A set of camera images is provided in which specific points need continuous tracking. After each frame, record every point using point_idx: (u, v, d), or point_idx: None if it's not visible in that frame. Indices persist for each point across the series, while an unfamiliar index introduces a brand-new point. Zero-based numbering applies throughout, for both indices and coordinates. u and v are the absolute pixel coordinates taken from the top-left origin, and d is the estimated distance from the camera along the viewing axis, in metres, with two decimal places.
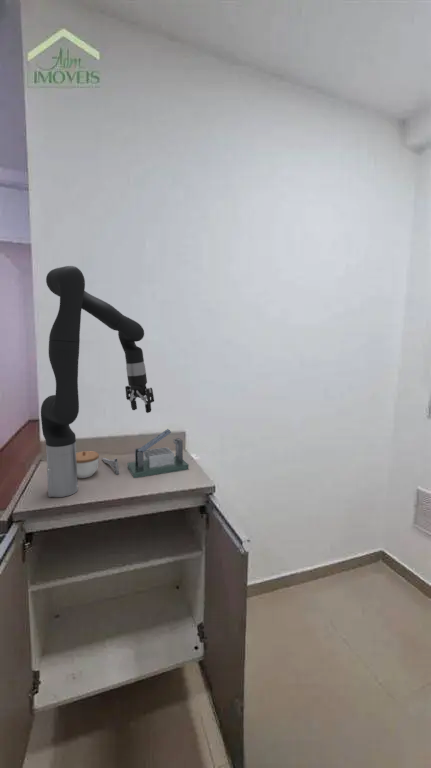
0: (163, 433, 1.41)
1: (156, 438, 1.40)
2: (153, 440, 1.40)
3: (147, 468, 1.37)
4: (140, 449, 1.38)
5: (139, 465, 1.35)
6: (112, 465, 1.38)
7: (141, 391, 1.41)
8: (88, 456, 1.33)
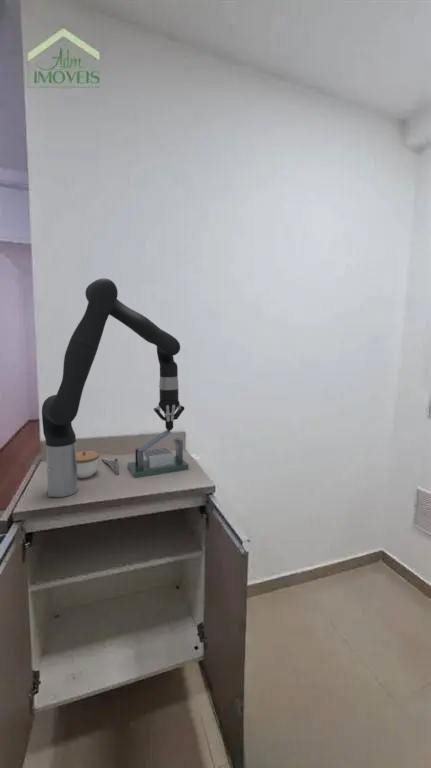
0: (163, 433, 1.41)
1: (156, 438, 1.40)
2: (153, 440, 1.40)
3: (147, 468, 1.37)
4: (140, 449, 1.38)
5: (139, 465, 1.35)
6: (112, 465, 1.39)
7: (175, 408, 1.41)
8: (88, 456, 1.33)
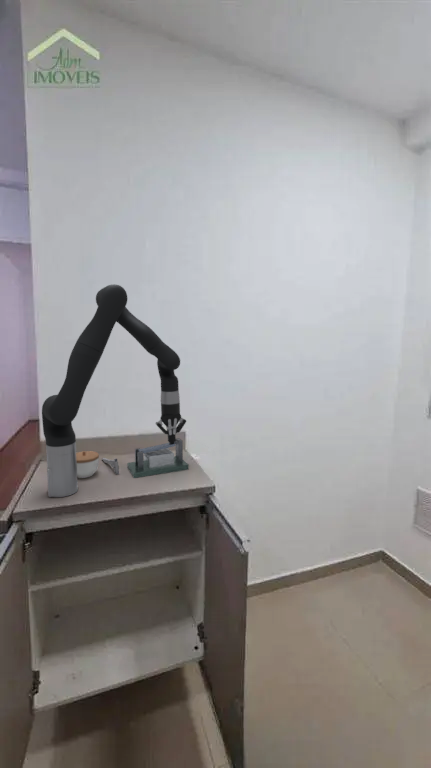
0: (167, 444, 1.43)
1: (159, 446, 1.41)
2: (156, 446, 1.41)
3: (147, 468, 1.37)
4: (141, 450, 1.38)
5: (139, 465, 1.35)
6: (112, 465, 1.39)
7: (177, 421, 1.42)
8: (88, 456, 1.33)
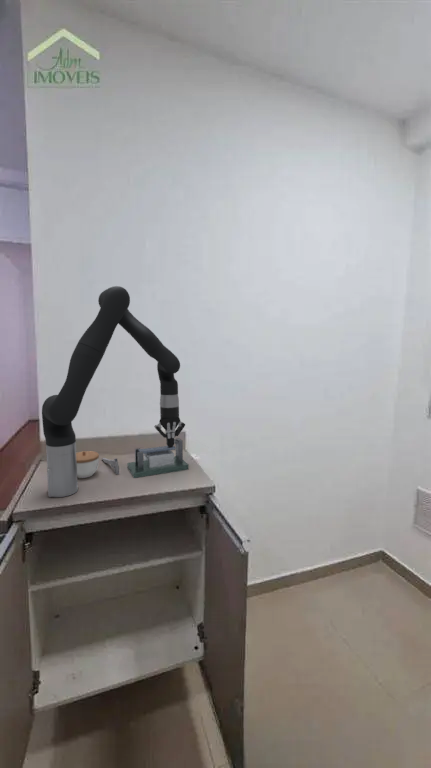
0: (168, 446, 1.43)
1: (159, 448, 1.41)
2: (156, 448, 1.41)
3: (147, 468, 1.37)
4: (141, 450, 1.38)
5: (139, 465, 1.35)
6: (112, 465, 1.39)
7: (176, 424, 1.42)
8: (88, 456, 1.33)
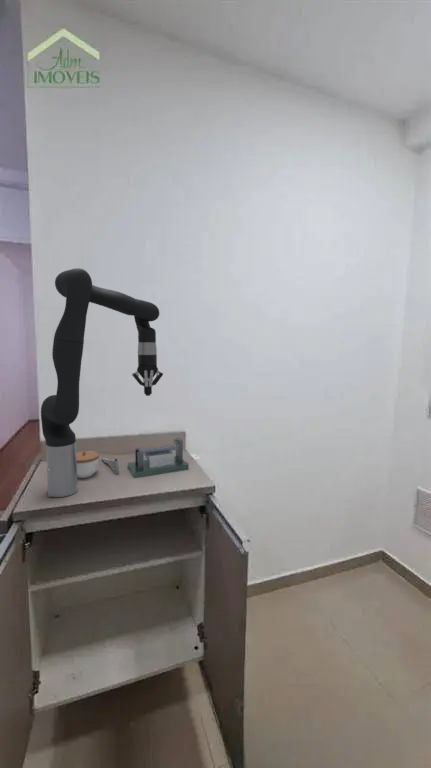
0: (168, 446, 1.43)
1: (159, 448, 1.41)
2: (156, 448, 1.41)
3: (147, 468, 1.37)
4: (141, 450, 1.38)
5: (139, 465, 1.35)
6: (112, 465, 1.39)
7: (154, 373, 1.44)
8: (88, 456, 1.33)
